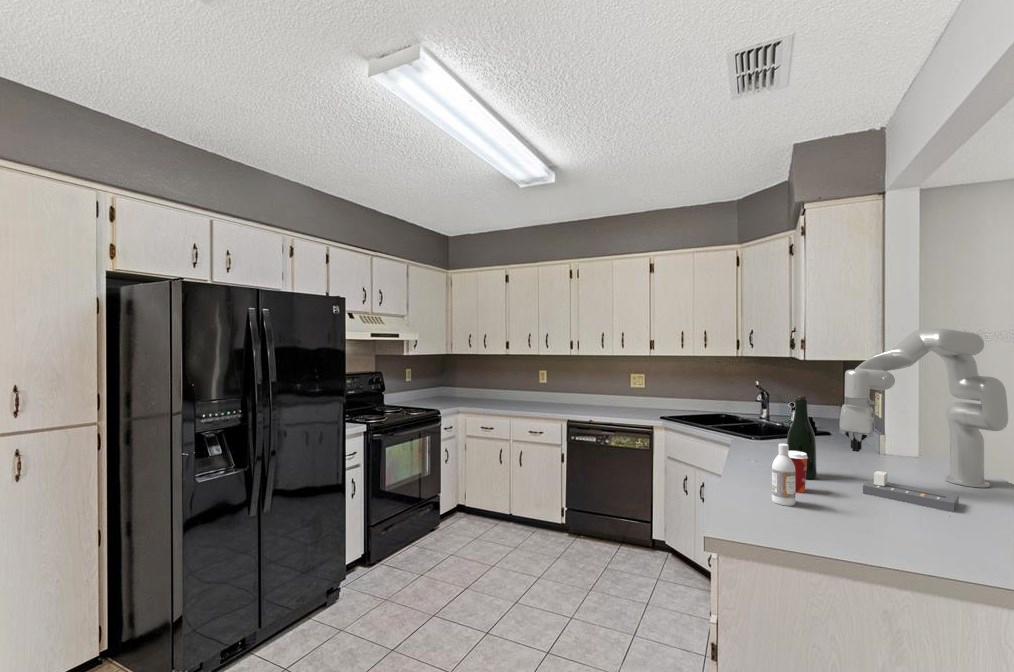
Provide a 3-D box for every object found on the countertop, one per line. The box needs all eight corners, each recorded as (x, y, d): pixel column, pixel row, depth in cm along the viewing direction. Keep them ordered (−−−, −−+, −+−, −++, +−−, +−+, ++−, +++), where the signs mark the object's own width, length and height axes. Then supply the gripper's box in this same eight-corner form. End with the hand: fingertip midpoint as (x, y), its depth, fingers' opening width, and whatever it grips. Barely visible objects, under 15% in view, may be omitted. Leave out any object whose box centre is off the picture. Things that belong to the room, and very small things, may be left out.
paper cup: (811, 494, 167) (811, 455, 167) (788, 493, 169) (788, 454, 169) (802, 487, 175) (802, 450, 175) (780, 486, 176) (780, 449, 176)
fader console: (871, 486, 176) (871, 478, 176) (958, 504, 158) (958, 494, 158) (862, 493, 168) (862, 484, 168) (953, 512, 150) (953, 502, 150)
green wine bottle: (799, 471, 196) (799, 393, 197) (822, 478, 186) (822, 396, 187) (780, 473, 193) (780, 394, 193) (803, 481, 183) (803, 397, 183)
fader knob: (877, 481, 172) (877, 470, 172) (887, 483, 170) (887, 472, 170) (873, 484, 169) (873, 473, 169) (884, 486, 167) (884, 475, 167)
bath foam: (783, 507, 154) (783, 447, 155) (767, 500, 161) (767, 442, 161) (800, 505, 156) (800, 446, 156) (783, 498, 163) (783, 441, 163)
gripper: (884, 404, 172) (883, 453, 171) (836, 399, 183) (835, 446, 183) (879, 405, 167) (878, 456, 167) (830, 400, 178) (829, 448, 178)
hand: (856, 450), depth 175 cm, fingers closed
